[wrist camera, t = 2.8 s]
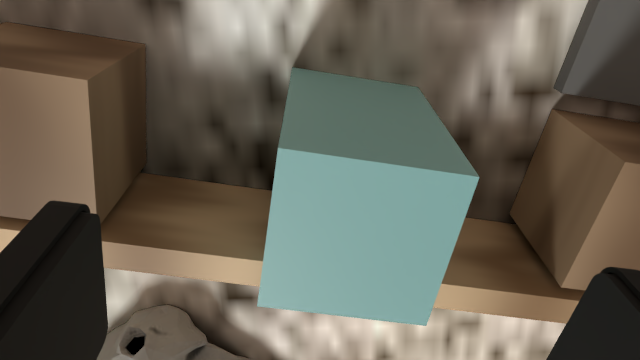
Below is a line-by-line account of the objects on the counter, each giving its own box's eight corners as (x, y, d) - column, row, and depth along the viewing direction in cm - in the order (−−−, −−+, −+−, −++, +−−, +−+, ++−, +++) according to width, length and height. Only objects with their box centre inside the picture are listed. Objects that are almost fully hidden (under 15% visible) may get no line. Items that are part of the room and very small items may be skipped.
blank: (418, 87, 17) (479, 176, 10) (389, 196, 19) (426, 325, 12) (292, 67, 16) (277, 147, 10) (277, 180, 18) (257, 306, 12)
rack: (707, 115, 17) (827, 170, 13) (625, 259, 20) (702, 340, 16) (-37, -6, 15) (-166, 15, 11) (-5, 175, 18) (-97, 243, 14)
